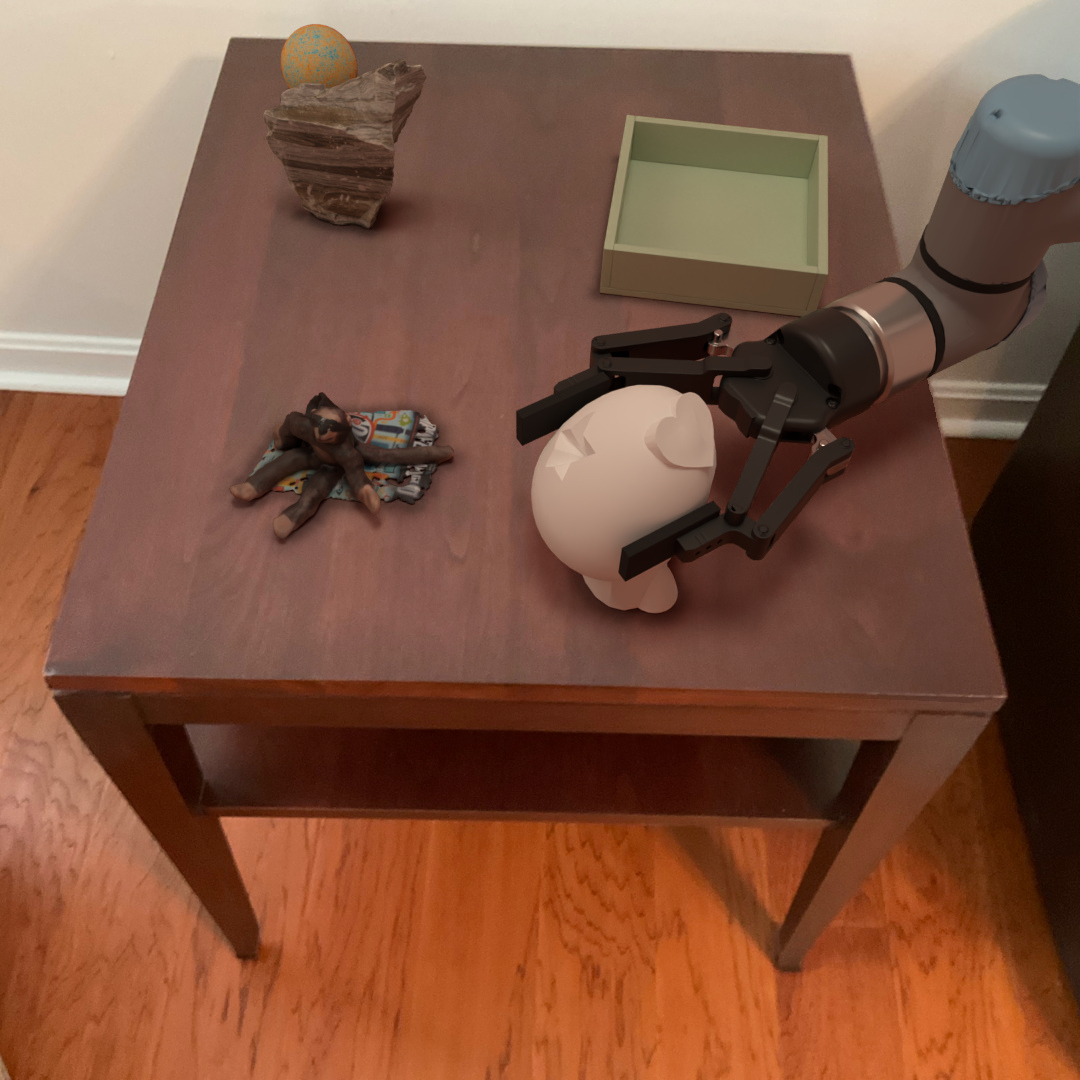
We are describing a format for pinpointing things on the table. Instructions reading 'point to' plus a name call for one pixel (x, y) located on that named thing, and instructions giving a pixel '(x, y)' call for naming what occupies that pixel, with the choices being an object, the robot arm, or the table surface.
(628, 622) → the table surface
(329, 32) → the ball
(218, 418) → the table surface
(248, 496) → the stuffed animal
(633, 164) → the tote
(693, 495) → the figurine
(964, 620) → the table surface
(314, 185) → the rock
